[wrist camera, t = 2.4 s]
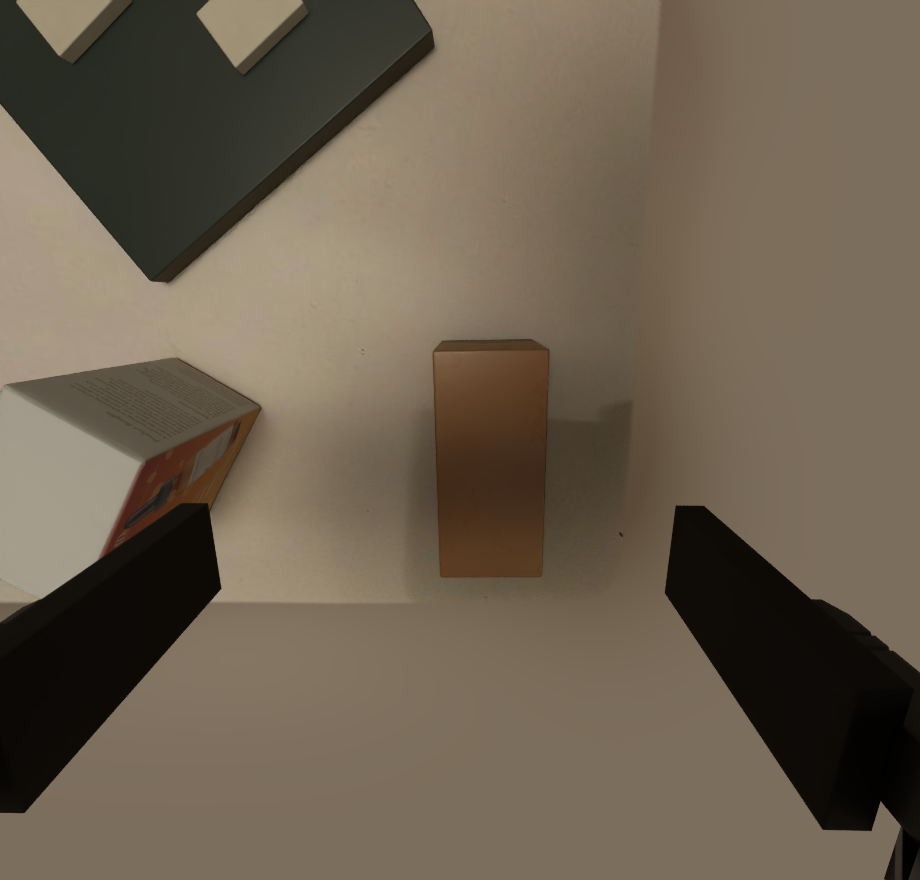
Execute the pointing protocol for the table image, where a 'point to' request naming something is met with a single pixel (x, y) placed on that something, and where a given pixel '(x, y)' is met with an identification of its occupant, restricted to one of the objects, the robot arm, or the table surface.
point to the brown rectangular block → (491, 456)
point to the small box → (106, 461)
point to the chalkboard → (196, 112)
